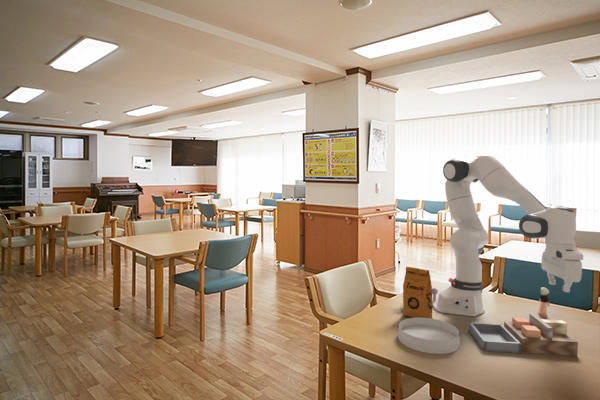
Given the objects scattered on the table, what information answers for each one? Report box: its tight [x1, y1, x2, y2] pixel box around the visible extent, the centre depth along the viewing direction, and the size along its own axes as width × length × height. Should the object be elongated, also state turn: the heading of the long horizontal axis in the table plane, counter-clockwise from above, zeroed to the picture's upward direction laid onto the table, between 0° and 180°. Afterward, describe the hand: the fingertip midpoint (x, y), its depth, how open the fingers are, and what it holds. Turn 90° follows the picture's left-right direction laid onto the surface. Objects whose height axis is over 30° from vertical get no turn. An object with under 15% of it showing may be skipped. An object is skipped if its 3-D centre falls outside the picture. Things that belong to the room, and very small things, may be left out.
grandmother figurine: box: [537, 286, 551, 317], centre depth 168 cm, size 8×4×13 cm, turn 5°
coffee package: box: [402, 266, 434, 319], centre depth 164 cm, size 10×12×22 cm
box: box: [468, 321, 522, 354], centre depth 140 cm, size 12×18×4 cm
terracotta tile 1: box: [521, 325, 541, 338], centre depth 134 cm, size 4×4×2 cm
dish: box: [397, 317, 461, 355], centre depth 141 cm, size 22×22×5 cm
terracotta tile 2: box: [511, 316, 530, 328], centre depth 142 cm, size 4×4×2 cm
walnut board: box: [503, 321, 579, 357], centre depth 138 cm, size 18×16×5 cm
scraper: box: [528, 313, 568, 339], centre depth 137 cm, size 9×14×4 cm, turn 171°
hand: (558, 287), depth 136 cm, fingers open, 8 cm apart
